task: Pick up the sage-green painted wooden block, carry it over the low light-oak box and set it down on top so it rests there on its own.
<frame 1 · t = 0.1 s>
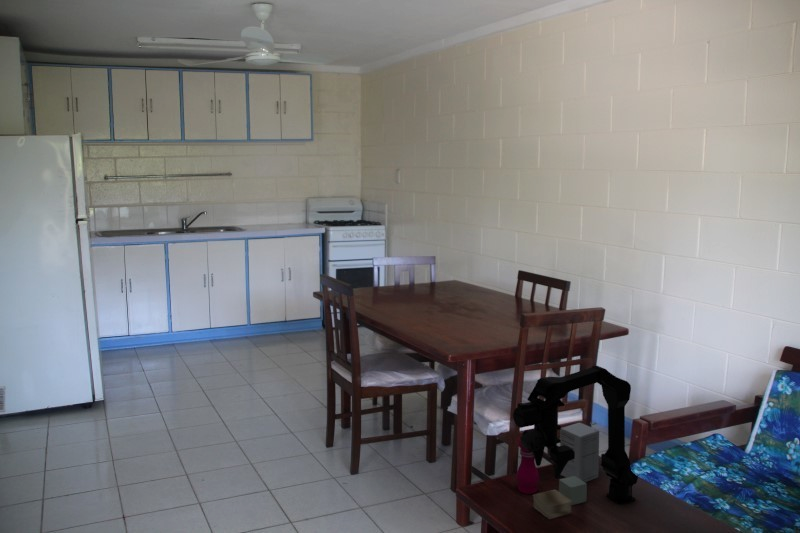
hand: (547, 471, 198), 15 cm above the table, fingers open, 9 cm apart
sage block: (572, 499, 211), on the table
supplement box: (578, 476, 227), on the table
oak box: (552, 510, 205), on the table
pepper mill: (527, 490, 218), on the table
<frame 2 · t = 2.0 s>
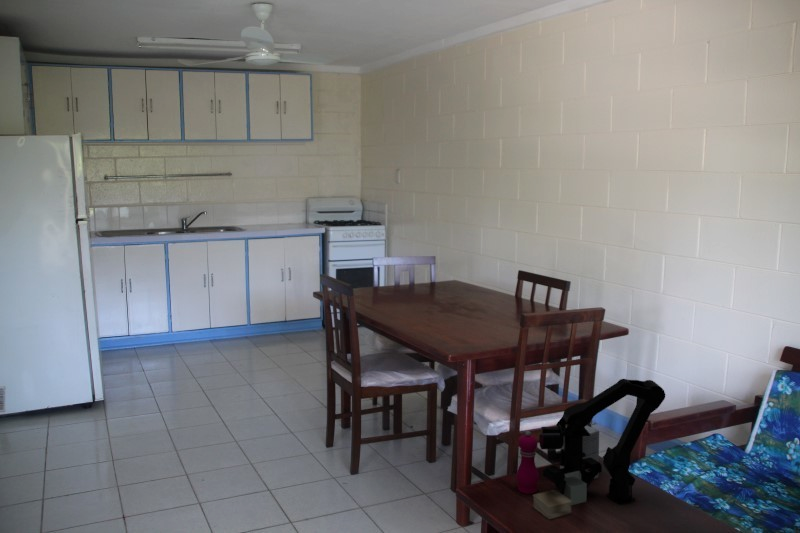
hand: (572, 495, 211), 1 cm above the table, fingers open, 8 cm apart
nothing on the table moved.
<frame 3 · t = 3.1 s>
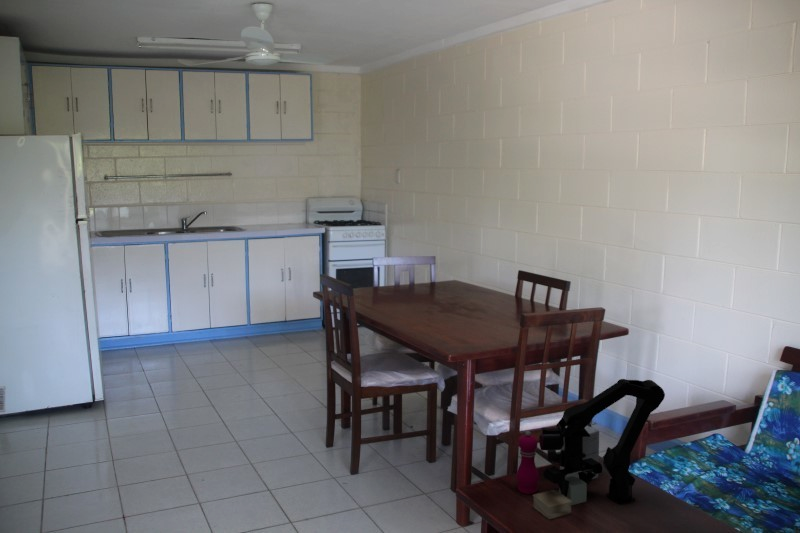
hand: (572, 496, 211), 1 cm above the table, fingers closed on sage block, 6 cm apart
sage block: (572, 499, 211), on the table, touching gripper
everything else where it was.
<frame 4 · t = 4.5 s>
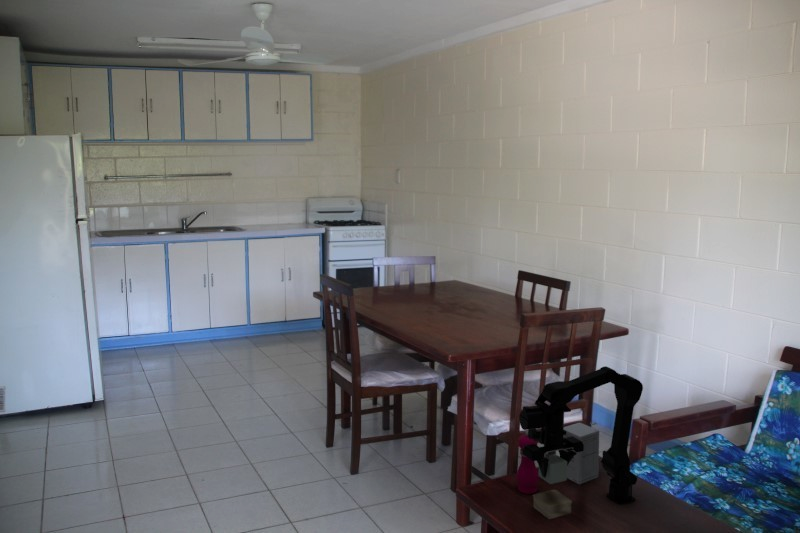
hand: (552, 475, 204), 11 cm above the table, fingers closed on sage block, 6 cm apart
sage block: (552, 478, 204), point 10 cm above the table, touching gripper
everything else where it was.
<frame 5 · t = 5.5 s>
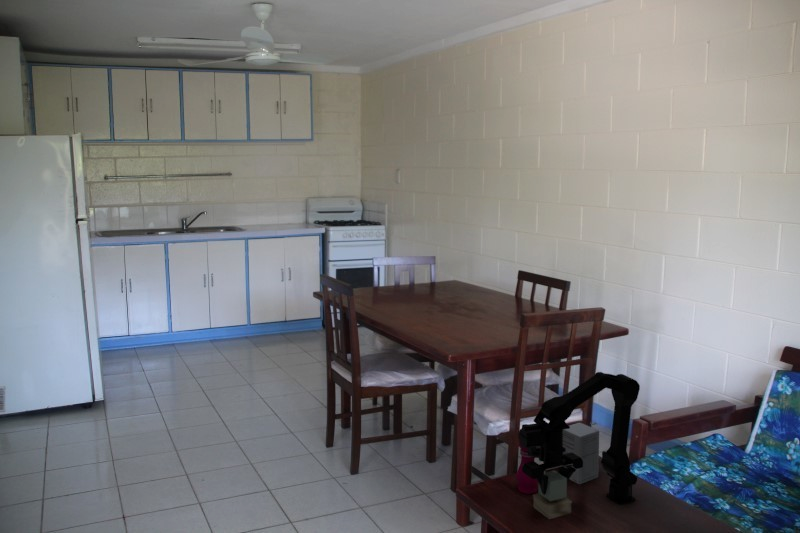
hand: (552, 491, 204), 6 cm above the table, fingers closed on sage block, 6 cm apart
sage block: (552, 494, 204), point 5 cm above the table, touching gripper
everything else where it was.
when the fingers open (6 cm above the table, at t = 6.3 s): sage block stays where it is, resting on oak box.
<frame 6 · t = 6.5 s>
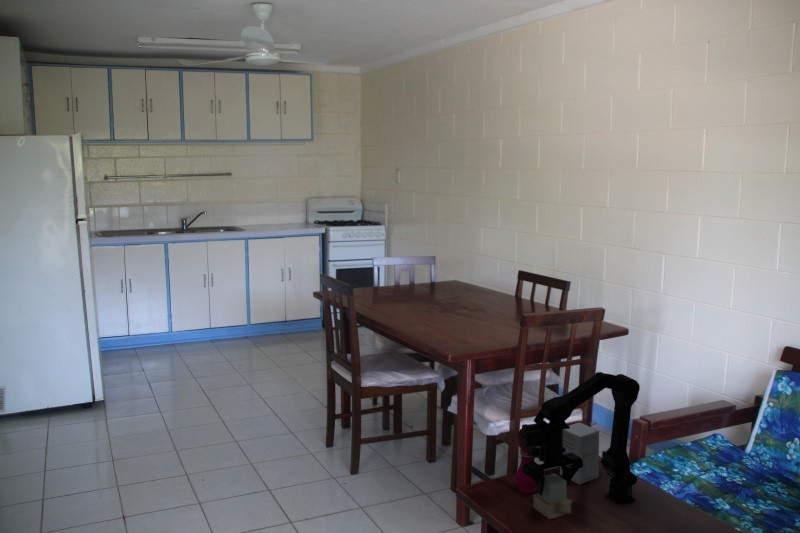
hand: (552, 491, 204), 6 cm above the table, fingers open, 8 cm apart
sage block: (552, 497, 204), point 4 cm above the table, touching oak box
everything else where it was.
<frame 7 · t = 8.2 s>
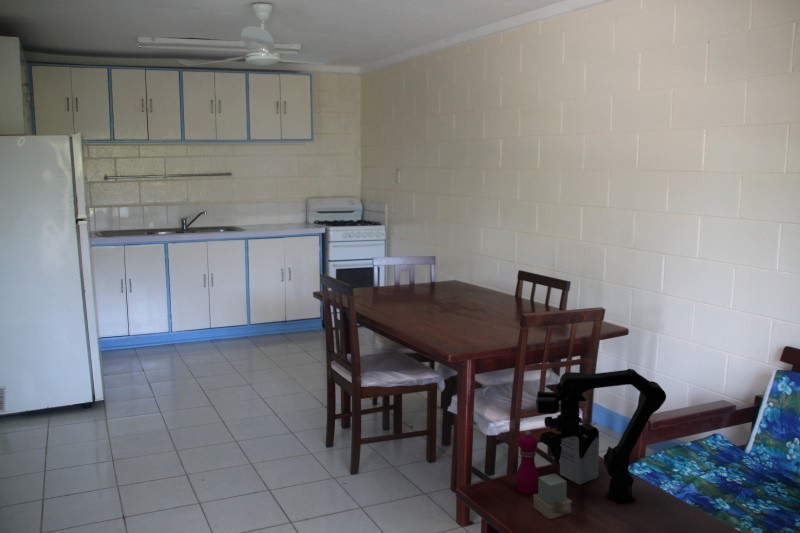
hand: (569, 460, 211), 12 cm above the table, fingers open, 9 cm apart
nothing on the table moved.
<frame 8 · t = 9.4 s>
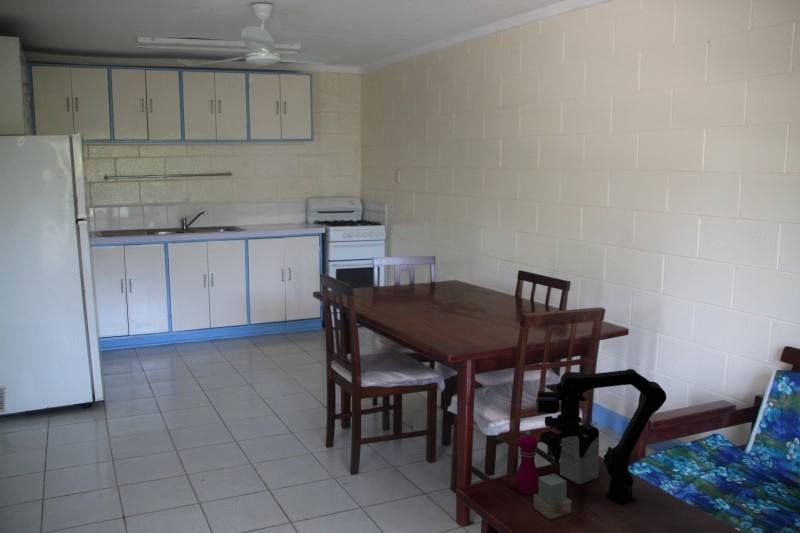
hand: (569, 460, 212), 12 cm above the table, fingers open, 9 cm apart
nothing on the table moved.
at the end: sage block 0.1 cm off-centre on the oak box, point 4.0 cm above the oak box's base; sage block tilted 0°; the gripper is holding nothing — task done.
